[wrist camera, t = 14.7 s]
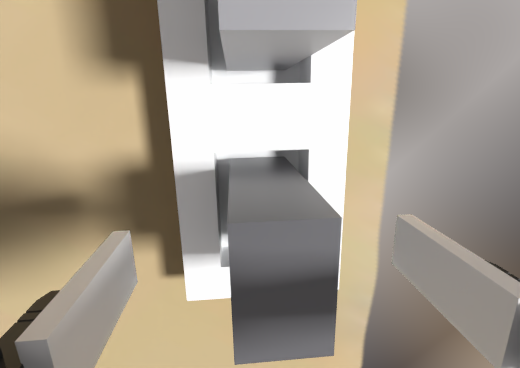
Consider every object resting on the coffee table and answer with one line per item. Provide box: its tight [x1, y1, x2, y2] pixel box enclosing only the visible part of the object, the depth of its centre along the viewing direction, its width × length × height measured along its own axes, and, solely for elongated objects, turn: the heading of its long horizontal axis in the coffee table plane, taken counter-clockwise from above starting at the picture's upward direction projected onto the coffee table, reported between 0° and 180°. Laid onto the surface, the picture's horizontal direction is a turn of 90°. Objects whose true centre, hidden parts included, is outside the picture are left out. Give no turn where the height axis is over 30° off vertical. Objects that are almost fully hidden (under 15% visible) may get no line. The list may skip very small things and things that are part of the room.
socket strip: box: [157, 0, 357, 301], centre depth 15 cm, size 11×25×12 cm, turn 1°
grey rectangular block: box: [227, 156, 342, 365], centre depth 17 cm, size 4×6×12 cm, turn 1°
